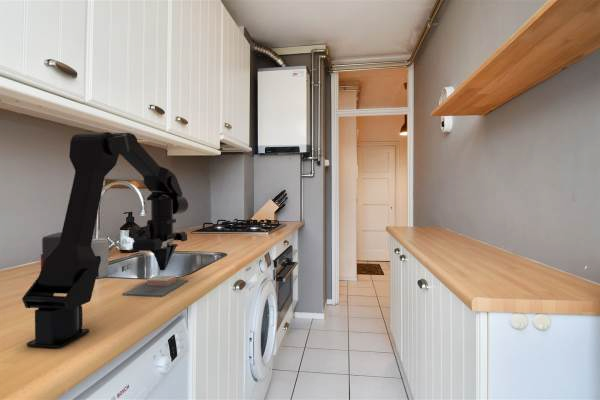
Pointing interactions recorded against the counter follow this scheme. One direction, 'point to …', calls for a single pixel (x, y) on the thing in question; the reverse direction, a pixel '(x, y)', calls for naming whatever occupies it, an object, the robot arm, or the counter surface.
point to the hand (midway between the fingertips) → (162, 270)
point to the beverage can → (101, 255)
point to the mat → (154, 289)
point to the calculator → (49, 245)
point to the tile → (161, 280)
